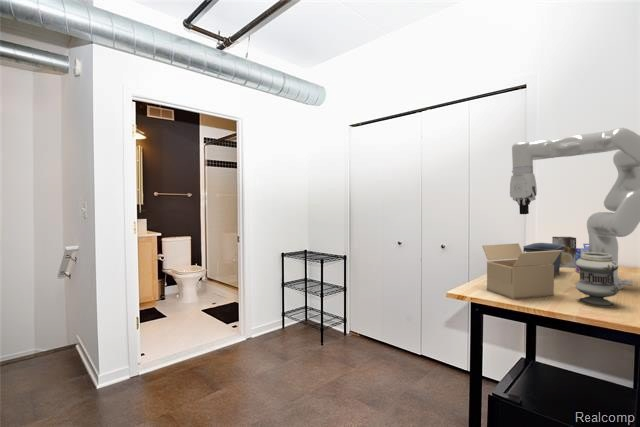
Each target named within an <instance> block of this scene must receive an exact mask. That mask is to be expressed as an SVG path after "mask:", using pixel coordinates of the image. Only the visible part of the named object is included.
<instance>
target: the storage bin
mask: <svg viewBox="0 0 640 427" xmlns="http://www.w3.org/2000/svg"><path fill="white" fill-rule="evenodd" d="M564 246H565V245H562V244H552V242H551V243H549V242H533V243H531V244H526V245H523V246H522V248H523V250H522V252H523V253H524V252H539V251H554V250H564ZM560 259H561V253H560V254H559V256H558V257H557V259H556V260H555V262H554V263H553V264H552V265H554V275H556V274H558V273H559V272H560V269H561V267H560Z"/></svg>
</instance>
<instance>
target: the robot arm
mask: <svg viewBox="0 0 640 427" xmlns="http://www.w3.org/2000/svg"><path fill="white" fill-rule="evenodd" d="M511 150H512V151H511V155H512V156H511V157H512V158H511V159H512V162H511V163H512V170H511V173H512V175H511V177H510V181H509V182H510V183H509V197H510V198H511V199H512V200H513V201H514V202H516V203H517V205H518V206H519V215H529V214H530V213H529V212H530V211H529V210H530V209H529V205H530V203H531V202H533V201H535V200H536V197H537V194H538V193H537V192H538V191H537V190H538V189H537V182H536V180H537V179H536V176H535V173H534V161H537V160H545V159H555V158H565V157H567V158H568V157H575V156H585V155H589V154H590V155H592V154H600V153H608V152H612V151H615V153H614V155H613V157H612V160H613V164H614V167H615V168H616V170H617V174H618V175H617V178H616V180H615V182H614V184H613V185H612V187H611V188H610V190H609V192H608V193H607V195H606V196H605V199H604V201H603V206H604V208H605V209H606V210H608V211H607V212H606V211H598V212H595V213H592V214H591V215H590V216H588V219H587V220H586V229H587V233H588V244H589V245H588V246H589V252H595V253H606V254H611V255H612V259H613V261H615V262H616V263H617V264H618V265H619V242H618V239H617V238H625V237H627V236H629V235H631V234H632V233H633V232H634V231H635V230H636V228H637V226H638V225H639V224H640V134H638V133H636V132H635V131H633V130H631V129H628V128H625V127H618V128H614V129H610V130H606V131H599V132H591V133H585V134H583V133H582V134H575V135H570V136H566V137H563V138H560V139H555V140H549V139H541V140H537V141H523V142H522V141H519V142H516V143H514V144H513V145H512V146H511ZM609 211H610V212H609ZM618 269H619V268H618ZM618 269H617V270H615V271H614V284H615V285H616V286H617V287H618V289H619V290H622V289H623V286H627V287H632V286H633V281H632V280H627V279H621V278H620V276H619V275H618V273H619V271H618Z"/></svg>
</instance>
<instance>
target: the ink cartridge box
mask: <svg viewBox="0 0 640 427" xmlns="http://www.w3.org/2000/svg"><path fill="white" fill-rule="evenodd" d="M582 244H583V247H580V248H577V247H576V248H575V249H576V261H577V260H578V259H580V258H581V255H582V253H586V252H589V243H582ZM575 272H576V273H578V274H580V268H579V267H577V265H576V267H575Z"/></svg>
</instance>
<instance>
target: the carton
mask: <svg viewBox="0 0 640 427" xmlns="http://www.w3.org/2000/svg"><path fill="white" fill-rule="evenodd" d="M517 259H518V258H514V259H500V260H487V261H486V291H489V292H492V293H494V294H498V295H500V296H503V297H505V298H508V299H511V300H522V299H530V298H537V297H538V298H539V297H541V298H542V297H549V296H550V297H551V296H554V295H555V274H554V265H552V264H542V265H529V266H516V267H514V264H515V262H516V260H517Z"/></svg>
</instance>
